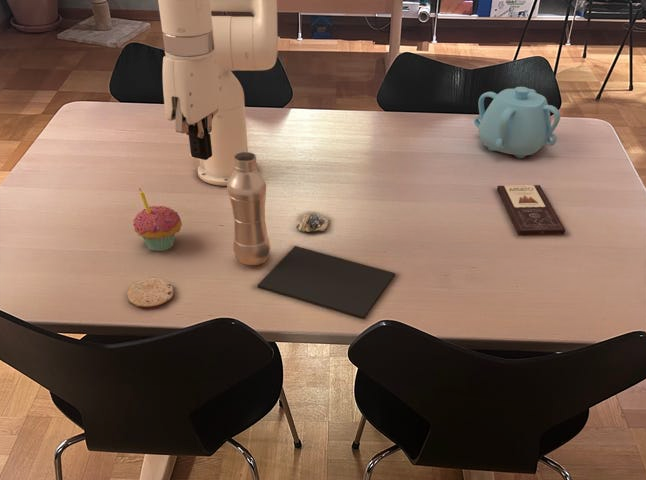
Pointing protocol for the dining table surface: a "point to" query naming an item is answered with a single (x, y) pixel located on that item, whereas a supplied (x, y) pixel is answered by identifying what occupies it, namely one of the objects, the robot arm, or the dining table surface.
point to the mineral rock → (312, 223)
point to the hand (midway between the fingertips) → (201, 156)
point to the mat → (327, 281)
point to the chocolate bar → (530, 210)
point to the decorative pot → (516, 121)
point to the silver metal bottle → (248, 210)
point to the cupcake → (157, 225)
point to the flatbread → (150, 292)
